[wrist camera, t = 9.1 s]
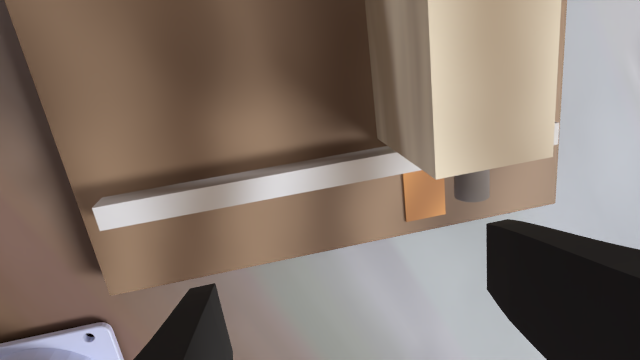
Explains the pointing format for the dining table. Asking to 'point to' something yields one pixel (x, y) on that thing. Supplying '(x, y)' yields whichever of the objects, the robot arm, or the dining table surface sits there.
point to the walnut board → (234, 134)
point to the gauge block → (465, 84)
